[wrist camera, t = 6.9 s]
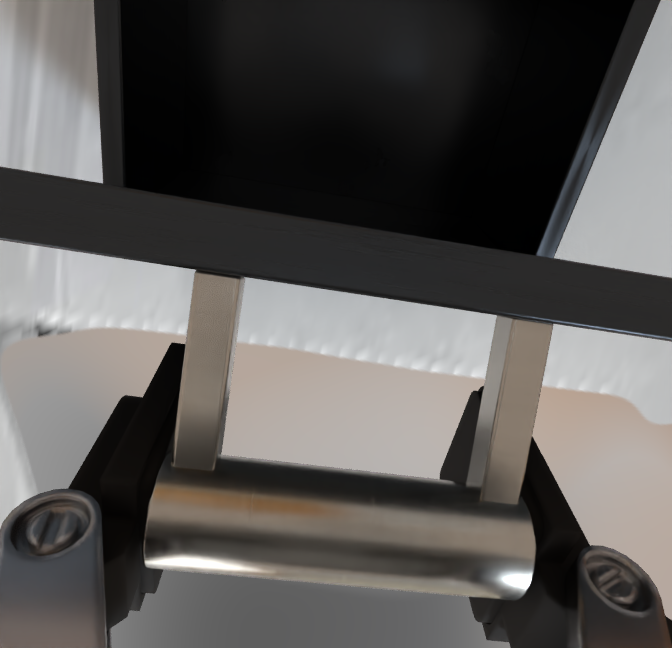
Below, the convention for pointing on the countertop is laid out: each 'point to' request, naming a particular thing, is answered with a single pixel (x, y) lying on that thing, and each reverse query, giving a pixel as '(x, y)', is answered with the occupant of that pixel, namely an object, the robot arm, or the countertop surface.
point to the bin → (369, 108)
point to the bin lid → (328, 482)
